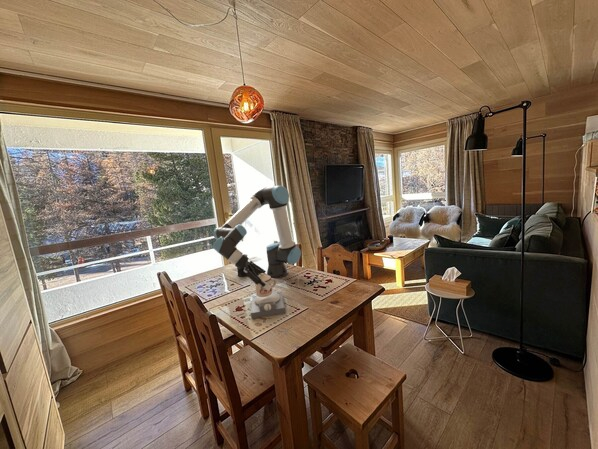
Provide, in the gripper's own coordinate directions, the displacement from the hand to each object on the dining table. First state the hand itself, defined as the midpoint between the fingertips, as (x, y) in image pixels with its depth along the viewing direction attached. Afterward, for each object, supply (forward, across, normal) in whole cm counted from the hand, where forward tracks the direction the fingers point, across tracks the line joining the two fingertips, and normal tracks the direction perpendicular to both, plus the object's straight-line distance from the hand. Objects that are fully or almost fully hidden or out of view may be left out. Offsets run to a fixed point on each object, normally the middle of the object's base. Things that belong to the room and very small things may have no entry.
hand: (271, 285), depth 138 cm
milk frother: (-10, -52, -26) cm, 59 cm away
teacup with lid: (+1, -1, -6) cm, 6 cm away
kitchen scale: (+6, +2, -10) cm, 12 cm away
